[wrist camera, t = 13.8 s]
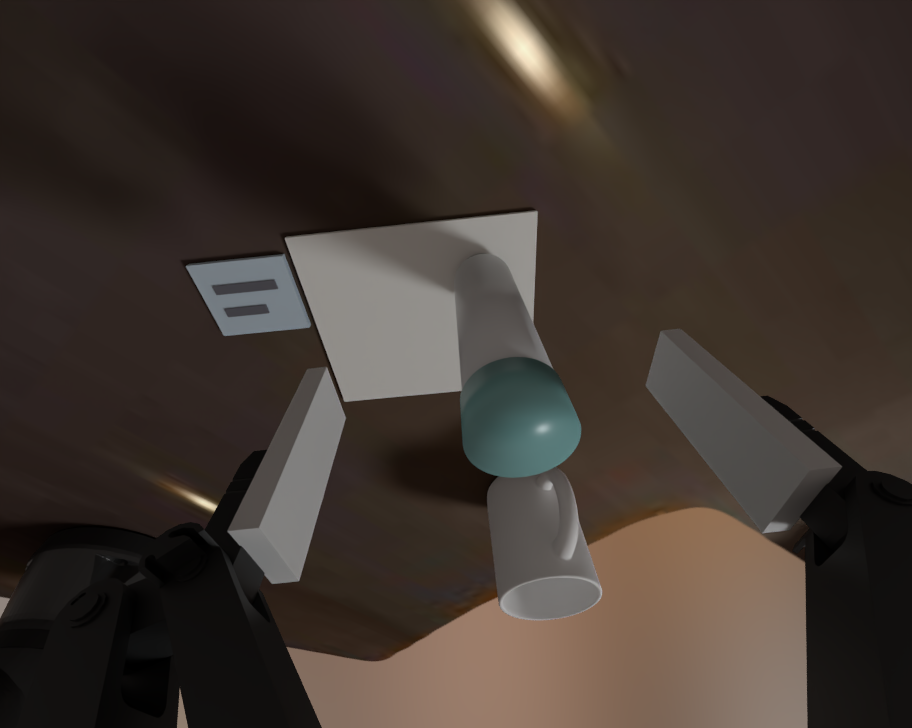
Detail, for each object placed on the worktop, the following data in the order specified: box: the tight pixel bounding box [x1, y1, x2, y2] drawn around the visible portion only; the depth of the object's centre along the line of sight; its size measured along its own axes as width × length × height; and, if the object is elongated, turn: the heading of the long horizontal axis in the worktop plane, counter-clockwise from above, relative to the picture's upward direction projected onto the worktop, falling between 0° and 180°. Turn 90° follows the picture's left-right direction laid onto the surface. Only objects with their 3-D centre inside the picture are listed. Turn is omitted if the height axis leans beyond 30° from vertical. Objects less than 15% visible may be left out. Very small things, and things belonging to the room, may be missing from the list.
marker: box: [454, 253, 581, 478], centre depth 17 cm, size 4×4×14 cm
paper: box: [285, 210, 538, 402], centre depth 25 cm, size 15×13×1 cm
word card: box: [186, 254, 311, 336], centre depth 23 cm, size 6×5×1 cm
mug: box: [487, 467, 602, 620], centre depth 32 cm, size 12×8×10 cm
